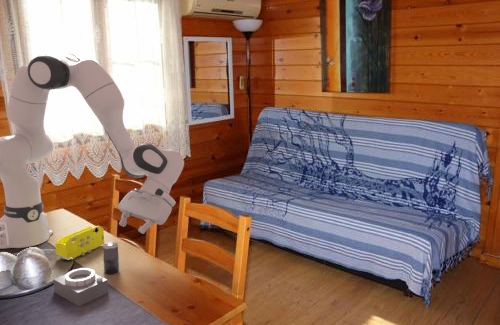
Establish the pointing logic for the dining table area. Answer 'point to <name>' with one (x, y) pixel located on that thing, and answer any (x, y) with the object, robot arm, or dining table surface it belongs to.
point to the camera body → (80, 286)
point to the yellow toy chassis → (80, 242)
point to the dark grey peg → (111, 258)
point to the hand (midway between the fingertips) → (130, 229)
